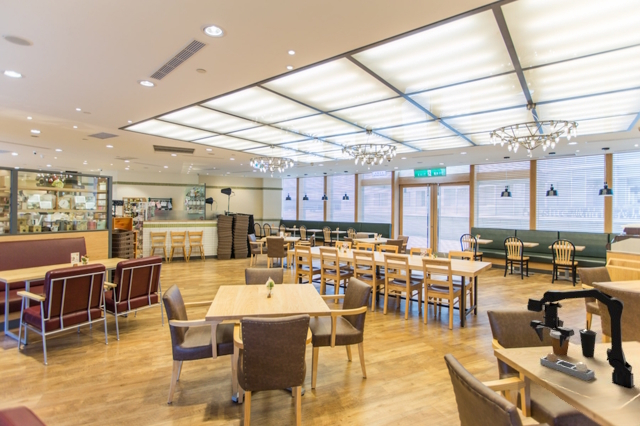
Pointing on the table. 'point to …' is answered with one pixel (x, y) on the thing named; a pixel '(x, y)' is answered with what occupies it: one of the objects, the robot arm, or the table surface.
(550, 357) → the brown egg
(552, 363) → the egg tray
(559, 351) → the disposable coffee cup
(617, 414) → the table surface
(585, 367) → the cream egg
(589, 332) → the drinking cup
